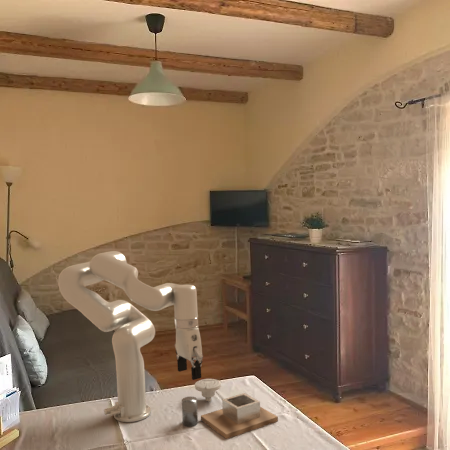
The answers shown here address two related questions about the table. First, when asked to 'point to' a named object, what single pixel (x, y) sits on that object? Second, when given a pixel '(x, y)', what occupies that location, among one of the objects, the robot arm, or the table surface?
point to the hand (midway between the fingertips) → (189, 374)
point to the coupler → (189, 411)
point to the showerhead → (208, 387)
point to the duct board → (238, 416)
